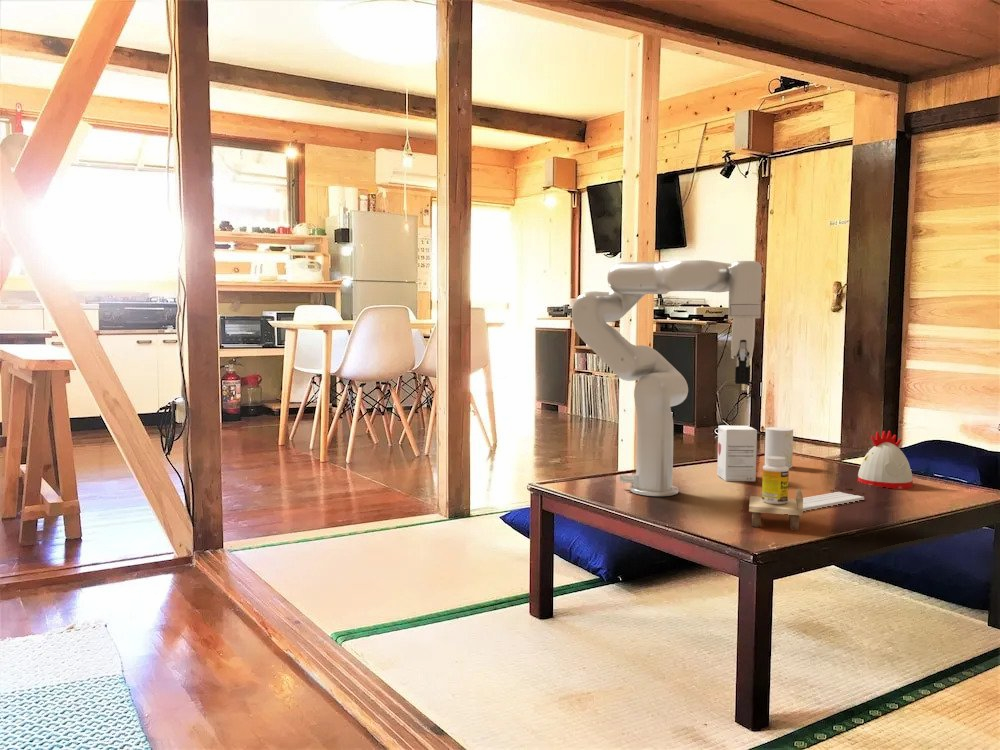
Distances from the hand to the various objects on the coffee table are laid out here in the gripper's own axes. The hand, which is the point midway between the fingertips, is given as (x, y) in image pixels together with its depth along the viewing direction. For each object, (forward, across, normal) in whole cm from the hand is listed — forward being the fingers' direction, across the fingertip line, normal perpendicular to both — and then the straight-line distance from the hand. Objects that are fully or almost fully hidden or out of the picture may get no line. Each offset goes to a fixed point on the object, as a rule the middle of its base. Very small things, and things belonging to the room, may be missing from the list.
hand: (742, 382), depth 196 cm
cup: (+31, -59, +10) cm, 67 cm away
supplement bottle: (+26, +17, +8) cm, 32 cm away
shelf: (+30, +17, +8) cm, 36 cm away
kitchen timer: (+31, -41, +38) cm, 64 cm away
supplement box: (+31, -35, -2) cm, 46 cm away
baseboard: (+31, -7, +16) cm, 36 cm away
